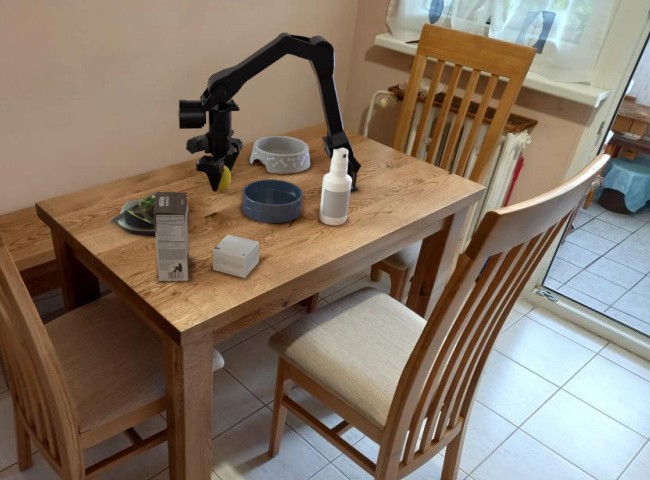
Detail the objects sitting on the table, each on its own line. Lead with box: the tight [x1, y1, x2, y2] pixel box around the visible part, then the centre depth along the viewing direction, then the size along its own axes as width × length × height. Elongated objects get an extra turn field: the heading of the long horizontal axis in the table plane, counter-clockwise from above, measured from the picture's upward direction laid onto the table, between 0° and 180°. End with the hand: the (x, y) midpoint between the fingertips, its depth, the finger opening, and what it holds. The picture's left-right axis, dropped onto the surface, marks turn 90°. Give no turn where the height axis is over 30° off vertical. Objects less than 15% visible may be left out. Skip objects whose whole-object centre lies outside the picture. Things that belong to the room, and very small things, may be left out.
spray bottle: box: [318, 148, 352, 226], centre depth 139 cm, size 7×7×18 cm
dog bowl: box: [249, 135, 311, 175], centre depth 172 cm, size 17×18×5 cm
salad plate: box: [109, 192, 189, 237], centre depth 141 cm, size 19×18×5 cm
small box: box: [211, 234, 260, 279], centre depth 124 cm, size 8×8×5 cm
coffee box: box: [154, 191, 190, 282], centre depth 119 cm, size 9×6×16 cm
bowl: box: [241, 178, 304, 224], centre depth 146 cm, size 15×15×5 cm
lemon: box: [217, 165, 232, 193], centre depth 153 cm, size 6×6×8 cm
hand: (220, 185), depth 154 cm, fingers open, 8 cm apart
